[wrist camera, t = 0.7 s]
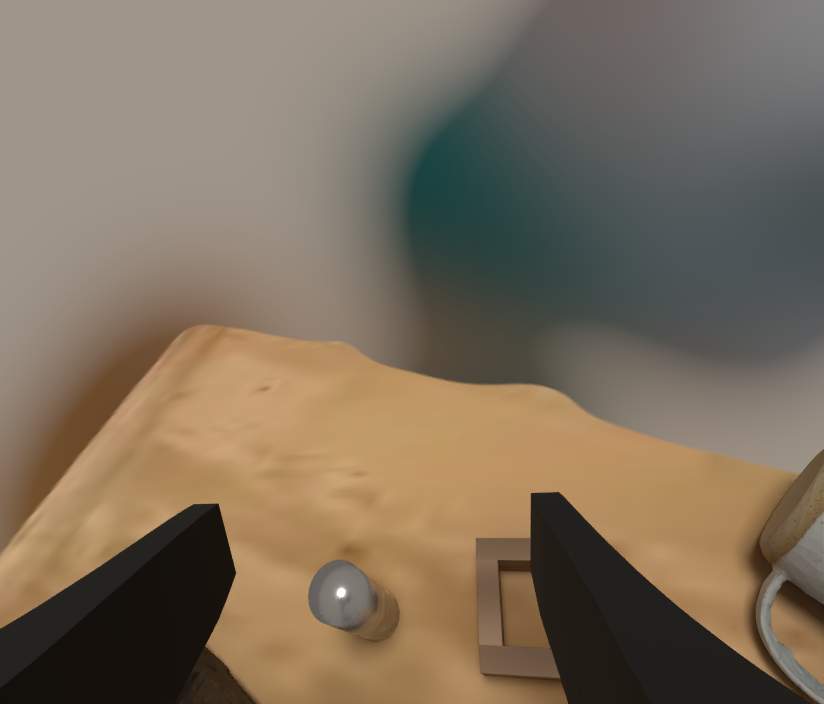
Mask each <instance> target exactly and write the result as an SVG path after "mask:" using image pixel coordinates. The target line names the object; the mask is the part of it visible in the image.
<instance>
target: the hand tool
mask: <svg viewBox="0 0 824 704" xmlns="http://www.w3.org/2000/svg"><path fill="white" fill-rule="evenodd" d="M175 704H253V703H252V702H251V701H250V700H249V699H248V698H247V697H246V696H245V694H244V693H243V692H242V691H241V689H240V688H239V687H238V686H237V684H236V683H235V682H234V681H233V680H232V679H231V678H230V676H229V671H228V668H227V667H226V666H225V665H224V663H222V662H221V661H220V660H219V659H218V658H217V657H216V656H215V655H214V654H213V653H211V652H210V651H209V650H208V649H207V648H206V647H204V649H203V651H202V653H201V655H200V657H199V659H198V660H197V662H196V664H195V666H194V668H193V670H192V672H191V674H190V676H189V678H188V679H187V681H186V683H185V685H184V687H183V689H182V691H181V693H180V695H179V697H178V698H177V700H176V702H175Z"/></svg>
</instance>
